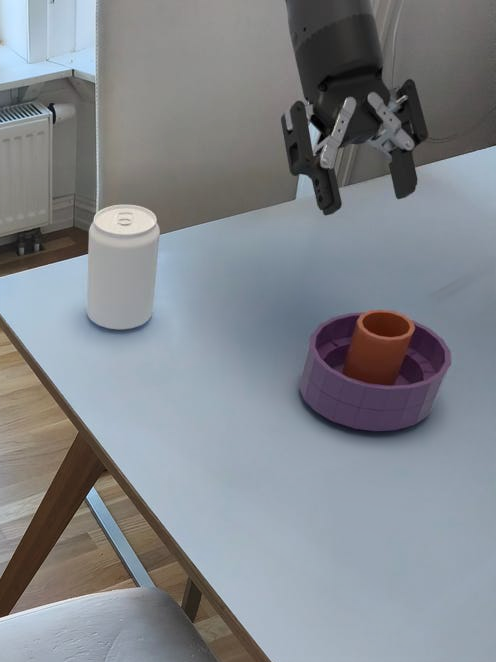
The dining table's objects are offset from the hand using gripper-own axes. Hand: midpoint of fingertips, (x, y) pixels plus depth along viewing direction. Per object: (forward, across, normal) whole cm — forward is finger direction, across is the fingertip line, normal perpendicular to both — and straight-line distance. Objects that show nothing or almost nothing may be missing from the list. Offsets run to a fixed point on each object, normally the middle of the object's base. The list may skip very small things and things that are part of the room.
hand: (370, 203), depth 88 cm
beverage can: (0, -18, +26) cm, 31 cm away
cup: (+17, 0, +7) cm, 19 cm away
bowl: (+18, 0, +7) cm, 19 cm away
